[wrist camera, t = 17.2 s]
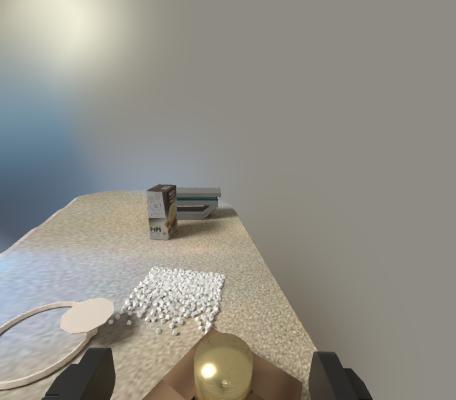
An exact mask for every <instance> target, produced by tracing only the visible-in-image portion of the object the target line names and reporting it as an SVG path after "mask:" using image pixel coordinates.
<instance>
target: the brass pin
mask: <svg viewBox="0 0 456 400" xmlns="http://www.w3.org/2000/svg"><path fill="white" fill-rule="evenodd" d="M252 368H253V356H252V352H251V350H250V348H249V346H248V345H247V344H246V342H245V341H243V340H242V339H241V338H239V337H237V336H235V335H233V334H228V333H219V334H214V335H212V336H209V337H208V338H206V339H205V340H203V341H202V342H201V343H200V345H199V346H198V348H197V350H196V352H195V356H194V384H195V400H250V394H251V381H252Z"/></svg>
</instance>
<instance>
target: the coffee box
mask: <svg viewBox="0 0 456 400" xmlns="http://www.w3.org/2000/svg"><path fill="white" fill-rule="evenodd" d="M147 201H148V216H149V230H150V239H159V240H169V238H170V237H171V236H172V235H173V234H174V233H175V231H176V230H177V229H178V228H177V198H176V185H157V186H155V187H153V188H151V189H149V190H147Z"/></svg>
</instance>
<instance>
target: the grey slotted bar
mask: <svg viewBox="0 0 456 400" xmlns="http://www.w3.org/2000/svg"><path fill="white" fill-rule="evenodd" d="M217 197H221V191H220V188H176V198H177V206H197V205H204V206H200V207H177V220H204V219H205V218H206V217H207V216H208V215H209V214H210V213H211V212H212V211H214V210H215V209H216V208H217V207H218V199H217Z"/></svg>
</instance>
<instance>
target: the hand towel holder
mask: <svg viewBox="0 0 456 400" xmlns="http://www.w3.org/2000/svg"><path fill="white" fill-rule="evenodd" d="M58 307H71V308H70V309H69V310H68V311H67V312H66V313H65V314H64V315H63V316H62V317H61V323H60V328H61V329H63V330H65V331H66V332H68V333H70V334H77V333H85V338H84V339H83V341H82V342H81V343H80V344H79V345H78V346H77V347H76V348H75V349H74V350H73V351H71V352H70V353H69V354H68V355H66V356H65V357H64V358H63V359H61V360H60V361H58V362H56V363H55V364H53V365H51V366H49V367H48V368H46V369H44V370H42V371H39V372H37V373H35V374H32V375H30V376H27V377H24V378H20V379H16V380H12V381H4V382H0V390H3V389H11V388H15V387H19V386H23V385H27V384H29V383H32V382H34V381H37V380H39V379H41V378H44V377H46V376H48V375H49V374H51V373H53V372H54V371H56V370H58V369H59V368H61V367H63V366H64V365H65V364H66V363H68V362H69V361H70V360H71V359H73V358H74V357H75V356H76V355H77V354H78V353H79V352H80V351H81V350H82V349H83V348H84V347H85V345H86V344H87V343H88V341H89V340H90V338H91V337H92V336H94V335H96V333H97V332H98V328H97V327H99V326H101V325H103V324H104V323H105V322H106V321H107V319H108V318H109V317H110V316H111V314H112V313H113V312H114V306H113V302H112V301H109V300H107V299H105V298H96V299H88V300H86V301H83V302H81V303H80V302H74V301H65V302H57V303H51V304H47V305H44V306H41V307H37V308H35V309H32V310H30V311H28V312H25V313H23V314H21V315H19V316H17V317H16V318H14V319H12V320H10V321H8V322H7V323H5V324H4V325H3V326H1V327H0V334H1V333H2V332H4V331H5V330H7V329H8V328H9V327H11V326H12V325H14V324H16V323H17V322H19V321H21V320H23V319H24V318H27V317H29V316H31V315H34V314H36V313H39V312H42V311H45V310H48V309H52V308H58Z"/></svg>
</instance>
